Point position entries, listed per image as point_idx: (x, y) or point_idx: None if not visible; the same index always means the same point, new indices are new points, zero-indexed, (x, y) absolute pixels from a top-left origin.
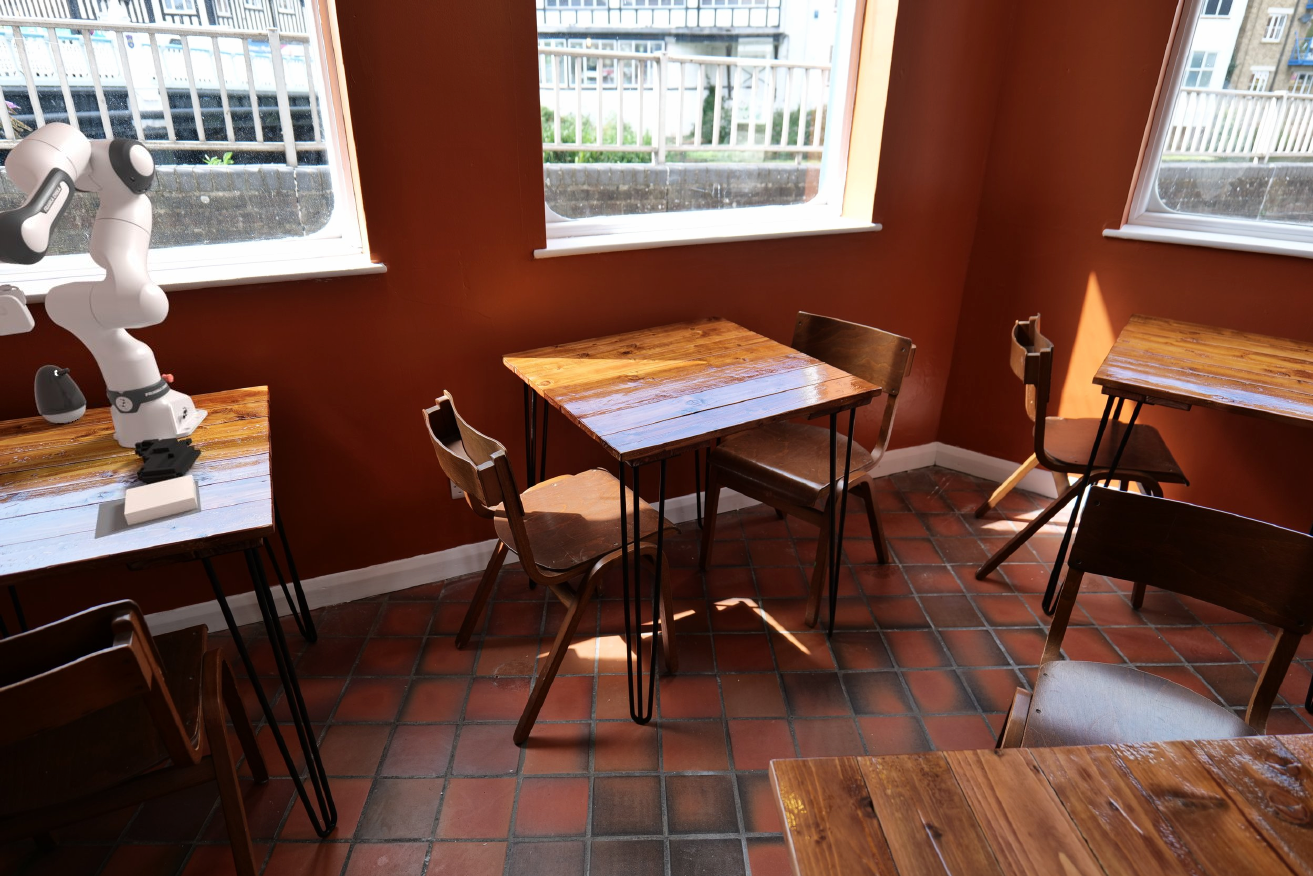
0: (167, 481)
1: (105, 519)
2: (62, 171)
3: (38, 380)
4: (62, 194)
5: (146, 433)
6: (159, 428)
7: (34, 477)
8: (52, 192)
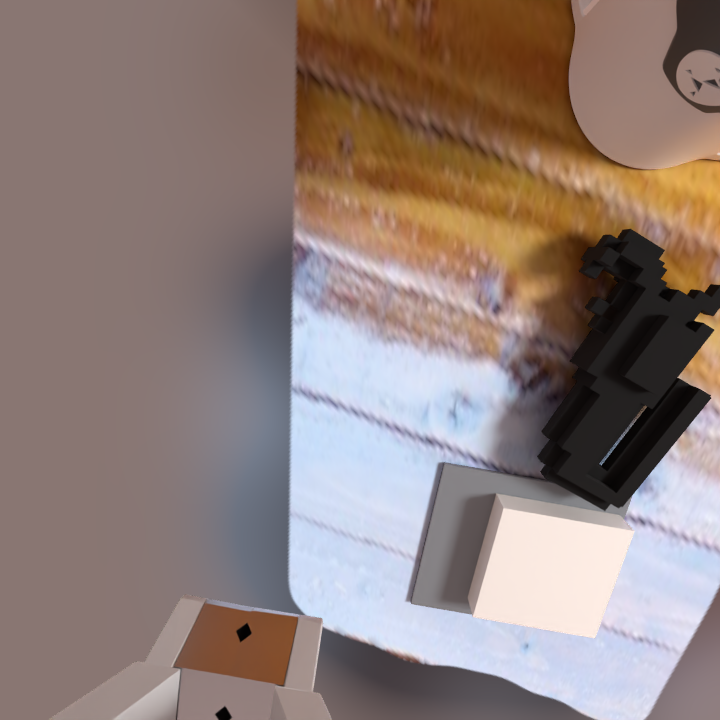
0: (582, 529)
1: (440, 544)
2: None
3: None
4: None
5: (656, 147)
6: (700, 146)
7: (344, 164)
8: None
